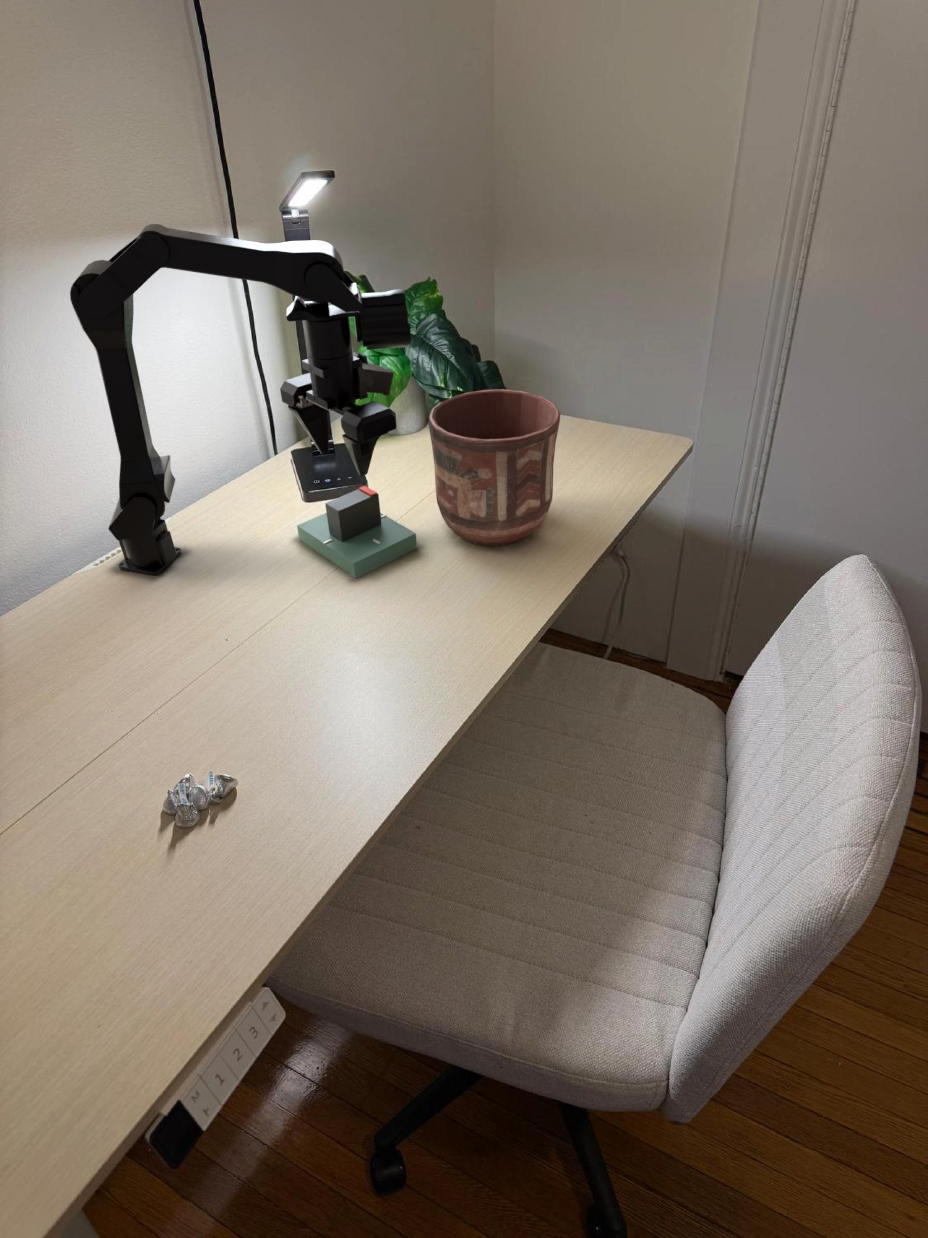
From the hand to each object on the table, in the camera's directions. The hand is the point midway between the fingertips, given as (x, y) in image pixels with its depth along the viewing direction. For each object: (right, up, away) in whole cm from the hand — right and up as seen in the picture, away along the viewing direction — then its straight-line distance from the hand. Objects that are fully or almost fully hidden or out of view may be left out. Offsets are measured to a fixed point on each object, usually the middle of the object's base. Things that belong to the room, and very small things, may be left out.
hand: (343, 463), depth 113 cm
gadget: (+1, -8, +5) cm, 10 cm away
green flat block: (+1, -11, +6) cm, 12 cm away
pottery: (+21, -8, +9) cm, 25 cm away
